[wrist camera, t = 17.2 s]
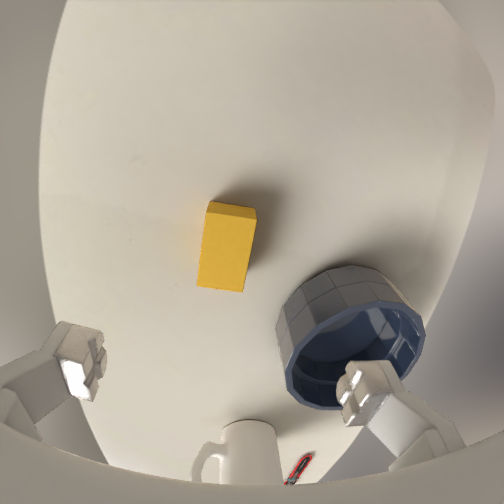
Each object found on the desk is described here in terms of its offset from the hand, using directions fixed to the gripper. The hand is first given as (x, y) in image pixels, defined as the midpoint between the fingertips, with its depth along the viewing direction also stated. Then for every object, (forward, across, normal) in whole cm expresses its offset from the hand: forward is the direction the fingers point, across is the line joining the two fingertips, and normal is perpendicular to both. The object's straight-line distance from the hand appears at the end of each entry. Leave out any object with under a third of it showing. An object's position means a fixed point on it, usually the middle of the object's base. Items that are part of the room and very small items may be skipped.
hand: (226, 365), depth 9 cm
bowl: (+12, -10, +6) cm, 17 cm away
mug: (+12, -4, +23) cm, 27 cm away
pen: (+12, -15, +36) cm, 41 cm away
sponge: (+12, 0, +1) cm, 12 cm away
